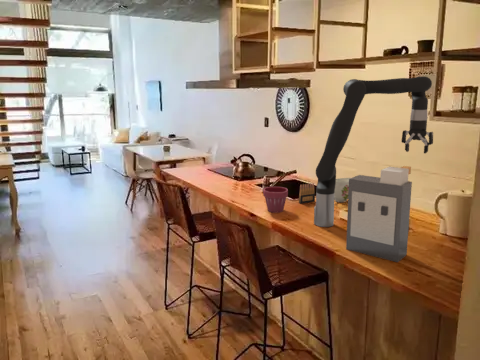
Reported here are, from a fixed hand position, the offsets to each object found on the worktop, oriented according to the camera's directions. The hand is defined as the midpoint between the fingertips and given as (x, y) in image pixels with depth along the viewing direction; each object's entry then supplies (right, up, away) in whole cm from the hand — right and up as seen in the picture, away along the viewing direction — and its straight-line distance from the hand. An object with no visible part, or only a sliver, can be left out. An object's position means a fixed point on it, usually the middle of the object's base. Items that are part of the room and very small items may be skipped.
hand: (416, 152), depth 208 cm
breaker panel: (-27, -45, -23) cm, 57 cm away
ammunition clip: (-45, -28, +56) cm, 77 cm away
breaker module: (-20, -13, -30) cm, 39 cm away
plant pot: (-66, -32, +40) cm, 83 cm away
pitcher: (-24, -27, +56) cm, 67 cm away
